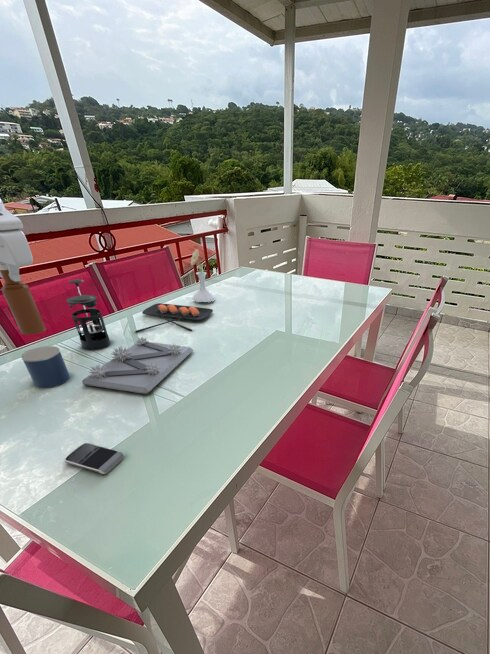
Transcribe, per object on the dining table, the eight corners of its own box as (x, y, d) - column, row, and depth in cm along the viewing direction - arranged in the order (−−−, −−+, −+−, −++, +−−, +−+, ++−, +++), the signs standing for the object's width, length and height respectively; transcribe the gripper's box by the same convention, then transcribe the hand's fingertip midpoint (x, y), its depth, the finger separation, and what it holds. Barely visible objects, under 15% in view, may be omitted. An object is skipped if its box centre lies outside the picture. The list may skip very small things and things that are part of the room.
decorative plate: (148, 397, 94) (142, 375, 90) (81, 387, 97) (72, 366, 93) (194, 352, 119) (192, 333, 115) (140, 345, 122) (135, 327, 118)
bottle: (16, 331, 90) (-15, 264, 81) (37, 325, 95) (10, 260, 85) (28, 336, 88) (-2, 267, 79) (50, 329, 93) (23, 263, 83)
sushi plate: (215, 313, 153) (214, 304, 151) (186, 338, 128) (184, 329, 126) (157, 306, 156) (155, 298, 154) (117, 330, 132) (115, 321, 129)
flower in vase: (194, 297, 170) (187, 245, 156) (217, 298, 171) (212, 245, 157) (190, 306, 159) (182, 250, 145) (214, 306, 160) (209, 251, 146)
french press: (105, 351, 117) (84, 284, 104) (76, 351, 115) (52, 284, 102) (115, 337, 126) (98, 275, 113) (89, 337, 125) (68, 275, 112)
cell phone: (86, 446, 77) (84, 441, 76) (126, 457, 74) (124, 452, 74) (63, 464, 72) (61, 459, 71) (105, 476, 70) (103, 472, 69)
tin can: (27, 382, 98) (13, 355, 93) (58, 369, 105) (47, 343, 100) (46, 391, 95) (33, 363, 89) (77, 377, 101) (66, 350, 96)
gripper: (-56, 214, 77) (-26, 275, 85) (-7, 223, 70) (21, 289, 78) (-24, 212, 82) (1, 270, 90) (25, 221, 75) (48, 283, 83)
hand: (11, 279), depth 84 cm, fingers closed on bottle, 3 cm apart
